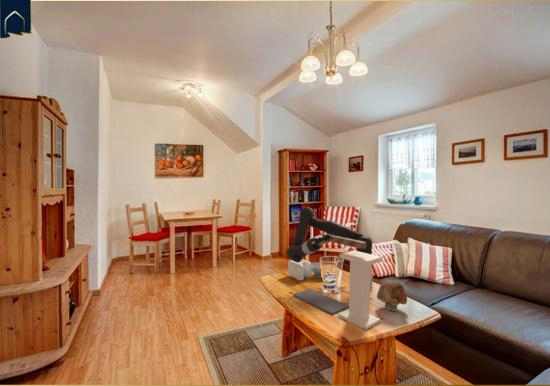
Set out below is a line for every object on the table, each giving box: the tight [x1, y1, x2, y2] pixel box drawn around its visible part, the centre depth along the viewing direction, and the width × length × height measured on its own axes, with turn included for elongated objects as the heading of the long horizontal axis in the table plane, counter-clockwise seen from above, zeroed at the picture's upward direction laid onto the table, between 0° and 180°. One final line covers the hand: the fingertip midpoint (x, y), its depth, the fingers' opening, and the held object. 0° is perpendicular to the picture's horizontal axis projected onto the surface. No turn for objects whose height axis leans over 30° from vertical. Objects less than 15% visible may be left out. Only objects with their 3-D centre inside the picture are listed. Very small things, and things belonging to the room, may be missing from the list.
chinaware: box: [311, 262, 321, 278], centre depth 202 cm, size 15×15×8 cm
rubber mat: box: [292, 288, 349, 316], centre depth 159 cm, size 30×14×1 cm, turn 38°
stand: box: [337, 249, 383, 330], centre depth 138 cm, size 16×12×32 cm
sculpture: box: [376, 280, 408, 312], centre depth 150 cm, size 15×16×15 cm
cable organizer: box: [287, 258, 312, 281], centre depth 198 cm, size 15×11×12 cm
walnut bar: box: [321, 233, 366, 249], centre depth 146 cm, size 26×3×3 cm, turn 39°
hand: (331, 235), depth 152 cm, fingers closed on walnut bar, 3 cm apart
